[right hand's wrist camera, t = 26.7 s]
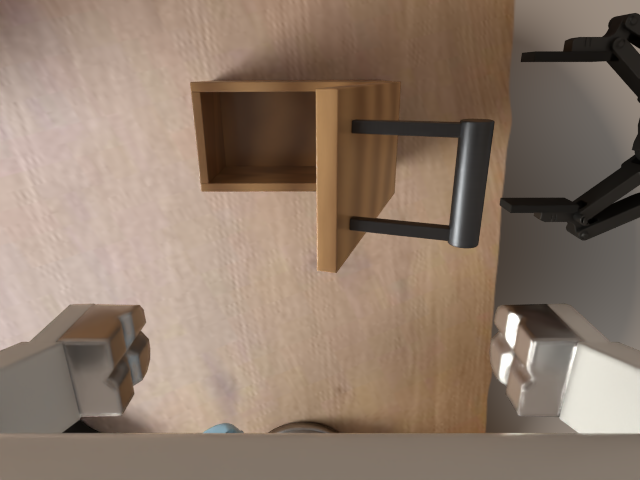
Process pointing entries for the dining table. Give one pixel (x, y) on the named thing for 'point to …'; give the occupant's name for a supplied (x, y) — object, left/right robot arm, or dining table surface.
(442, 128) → the lid
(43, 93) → the dining table surface
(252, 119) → the chest
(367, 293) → the dining table surface
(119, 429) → the dining table surface
